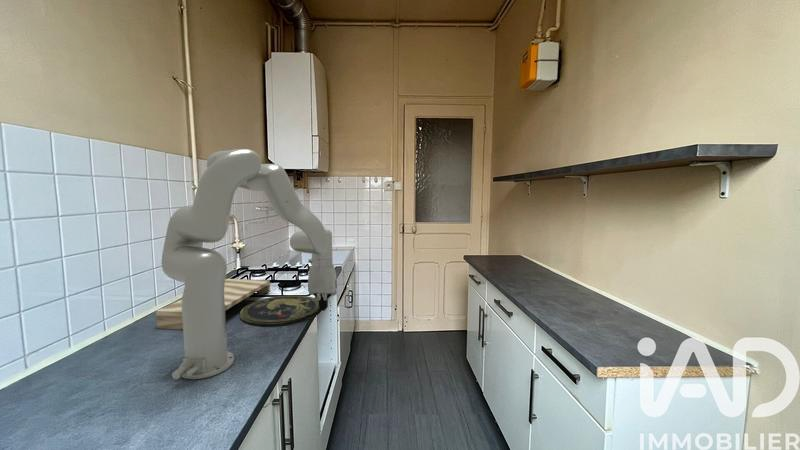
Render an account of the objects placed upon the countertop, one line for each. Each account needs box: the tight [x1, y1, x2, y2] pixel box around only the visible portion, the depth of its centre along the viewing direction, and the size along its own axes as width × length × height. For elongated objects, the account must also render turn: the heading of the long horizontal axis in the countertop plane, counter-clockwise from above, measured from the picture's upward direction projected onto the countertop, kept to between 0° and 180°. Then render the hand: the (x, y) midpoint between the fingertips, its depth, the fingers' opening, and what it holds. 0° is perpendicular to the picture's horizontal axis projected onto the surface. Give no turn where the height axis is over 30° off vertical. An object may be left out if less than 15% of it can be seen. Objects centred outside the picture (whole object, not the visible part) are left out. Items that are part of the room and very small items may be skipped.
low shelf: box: [155, 278, 271, 330], centre depth 127 cm, size 39×20×6 cm, turn 175°
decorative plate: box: [239, 294, 322, 328], centre depth 125 cm, size 30×2×30 cm
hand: (323, 309), depth 124 cm, fingers closed
